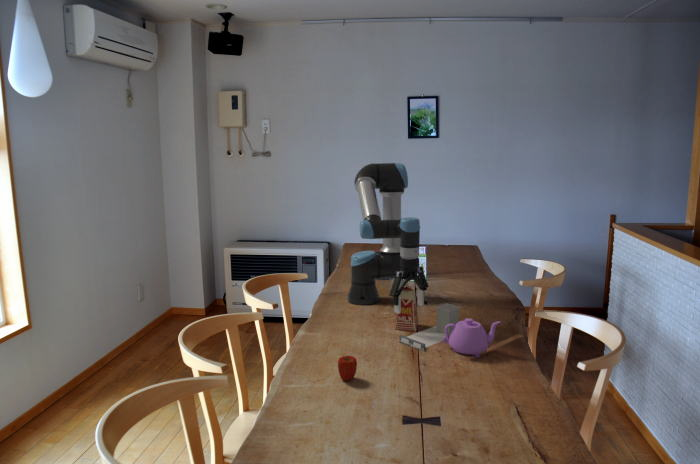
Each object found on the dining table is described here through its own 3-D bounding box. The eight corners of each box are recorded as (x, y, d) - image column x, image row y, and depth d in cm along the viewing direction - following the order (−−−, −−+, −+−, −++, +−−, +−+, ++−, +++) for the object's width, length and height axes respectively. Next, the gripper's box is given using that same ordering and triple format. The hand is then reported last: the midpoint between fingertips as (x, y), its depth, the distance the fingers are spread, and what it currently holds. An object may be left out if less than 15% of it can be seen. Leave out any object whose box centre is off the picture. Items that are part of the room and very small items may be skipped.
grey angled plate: (399, 342, 204) (399, 335, 204) (439, 327, 220) (439, 321, 219) (423, 351, 195) (423, 344, 195) (463, 335, 211) (464, 328, 211)
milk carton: (416, 334, 212) (417, 285, 209) (393, 332, 214) (393, 284, 211) (419, 326, 221) (419, 279, 218) (396, 324, 223) (397, 278, 220)
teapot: (497, 346, 199) (499, 314, 197) (500, 362, 186) (502, 327, 183) (443, 343, 203) (443, 311, 201) (442, 358, 189) (442, 324, 187)
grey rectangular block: (436, 331, 212) (436, 306, 210) (446, 327, 216) (446, 303, 214) (448, 335, 208) (449, 310, 206) (458, 331, 212) (459, 306, 210)
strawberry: (350, 385, 170) (350, 363, 168) (334, 380, 173) (333, 358, 172) (360, 377, 175) (360, 356, 174) (344, 373, 178) (344, 352, 177)
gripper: (394, 263, 200) (394, 318, 204) (437, 253, 217) (436, 304, 220) (380, 260, 206) (380, 313, 210) (423, 251, 222) (422, 300, 226)
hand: (409, 309), depth 215 cm, fingers open, 13 cm apart
